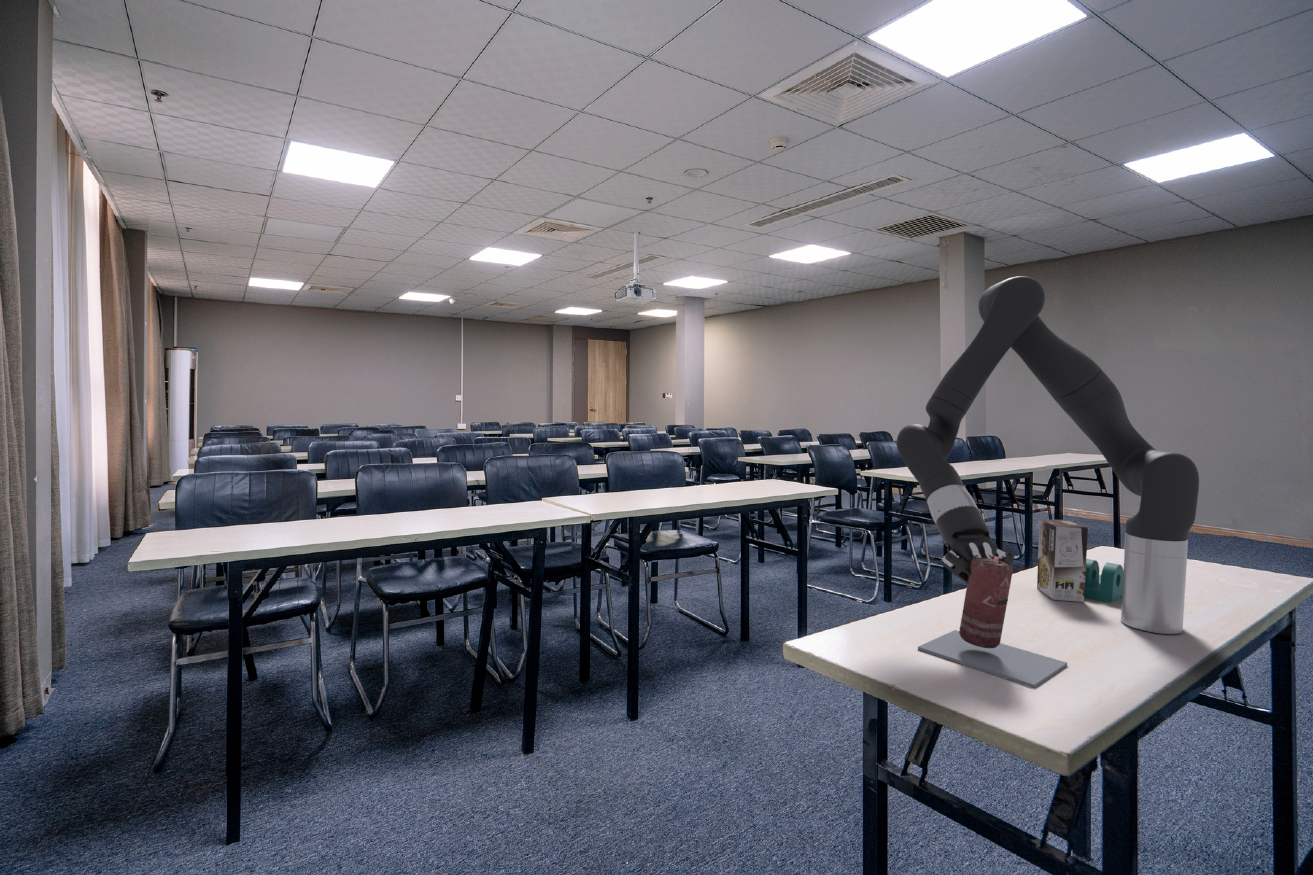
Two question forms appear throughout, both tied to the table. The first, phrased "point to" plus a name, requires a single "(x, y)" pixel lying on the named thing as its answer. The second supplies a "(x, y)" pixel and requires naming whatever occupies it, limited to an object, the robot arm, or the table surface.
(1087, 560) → the bracket
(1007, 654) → the mat
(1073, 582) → the coffee box
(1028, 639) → the table surface
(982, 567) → the can
